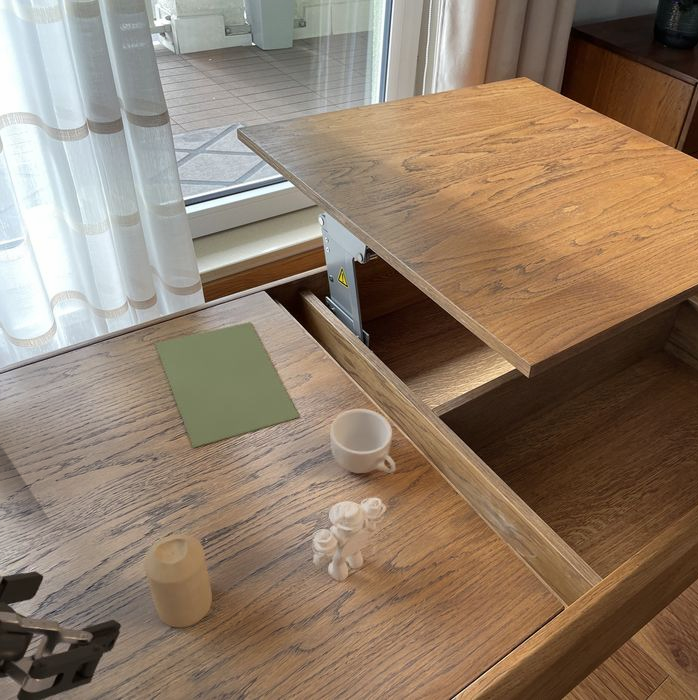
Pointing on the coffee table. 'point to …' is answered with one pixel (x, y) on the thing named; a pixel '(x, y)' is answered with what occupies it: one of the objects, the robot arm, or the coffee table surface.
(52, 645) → the robot arm
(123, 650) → the coffee table surface
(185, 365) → the desk mat
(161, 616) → the candle
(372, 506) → the hat wearing toy figure
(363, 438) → the teacup
